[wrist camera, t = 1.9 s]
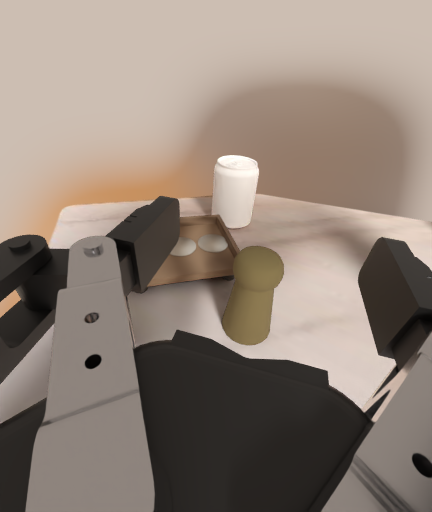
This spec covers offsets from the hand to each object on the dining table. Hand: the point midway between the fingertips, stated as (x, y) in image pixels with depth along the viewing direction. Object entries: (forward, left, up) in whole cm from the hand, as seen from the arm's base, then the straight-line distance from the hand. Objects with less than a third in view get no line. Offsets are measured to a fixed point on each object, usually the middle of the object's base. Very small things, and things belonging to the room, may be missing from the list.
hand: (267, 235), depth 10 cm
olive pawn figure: (-6, -10, -20) cm, 23 cm away
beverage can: (-12, -35, -20) cm, 42 cm away
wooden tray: (0, -24, -20) cm, 31 cm away
